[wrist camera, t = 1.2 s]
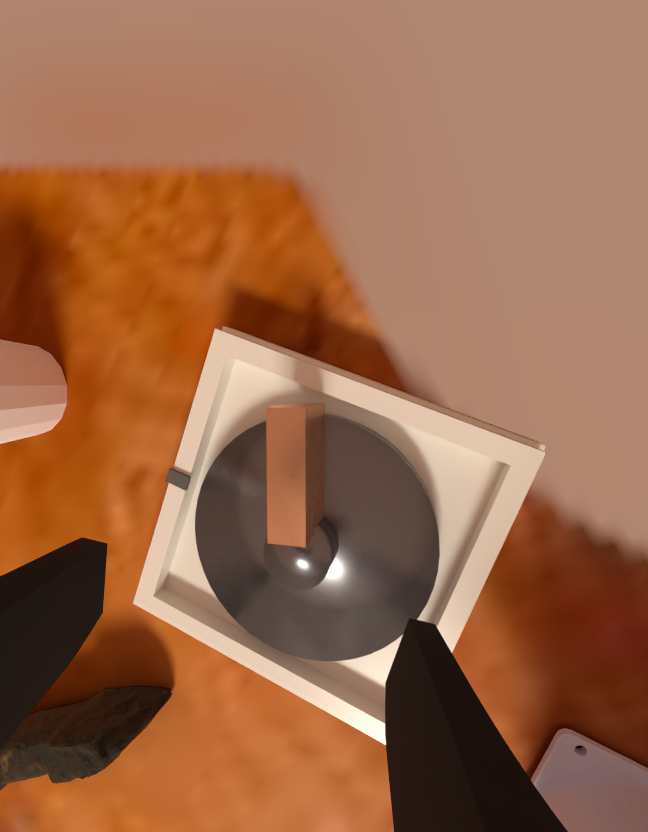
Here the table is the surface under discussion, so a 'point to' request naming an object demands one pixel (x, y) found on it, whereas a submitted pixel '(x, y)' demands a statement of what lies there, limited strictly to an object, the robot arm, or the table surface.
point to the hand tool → (79, 735)
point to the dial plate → (405, 429)
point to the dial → (317, 534)
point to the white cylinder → (29, 391)
